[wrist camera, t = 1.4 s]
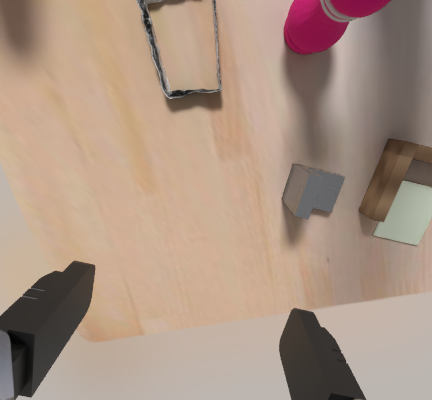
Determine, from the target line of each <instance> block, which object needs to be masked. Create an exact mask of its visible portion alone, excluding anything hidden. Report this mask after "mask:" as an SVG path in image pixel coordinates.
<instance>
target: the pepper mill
mask: <svg viewBox="0 0 432 400" xmlns="http://www.w3.org/2000/svg"><path fill="white" fill-rule="evenodd" d="M390 1H391V0H294V1H293V3H292V5H291V7H290V10H289V13H288V17H287V19H286V22H285V26H284V37H285V40H286V43H287V44H288V46H289V47H290V48H291V49H292V50H293V51H294V52H296V53H299V54H311V53H315V52H321V51H324V50H326V49H328V48H330V47H331V46H332V45H334V44H335V43H336V42H337V41H338V40H339V39H340V38H341V37H342V35H343V34H344V32H345V30H346V28H347V26H348V24H349V21H352V20H354V19H356V18H361V17H365V16H368V15H371V14H373V13H375V12H377V11H379V10H380V9H381V8H383V7H384V6H385V5H386V4H387V3H389V2H390Z"/></svg>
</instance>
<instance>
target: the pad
mask: <svg viewBox="0 0 432 400" xmlns="http://www.w3.org/2000/svg"><path fill="white" fill-rule="evenodd" d="M431 218H432V187H429V186H425V185H421V184H417V183H413V182H409V181H405V180H403V181H402V183H401V185H400V188H399V190H398V192H397V194H396V197H395V199H394V201H393V203H392V205H391V208H390V210H389V212H388V214H387V216H386V219H385V221H384V222H380V221H379V222H378V224H377V226H376V229H375V231H374V233H373V235H374V236H378V237H383V238H387V239H391V240H396V241H400V242H404V243H409V244H413V245H418V243H419V241H420V239H421V237H422V235H423V233H424V232H425V230H426V228H427V226H428V224H429V222H430V220H431Z"/></svg>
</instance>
